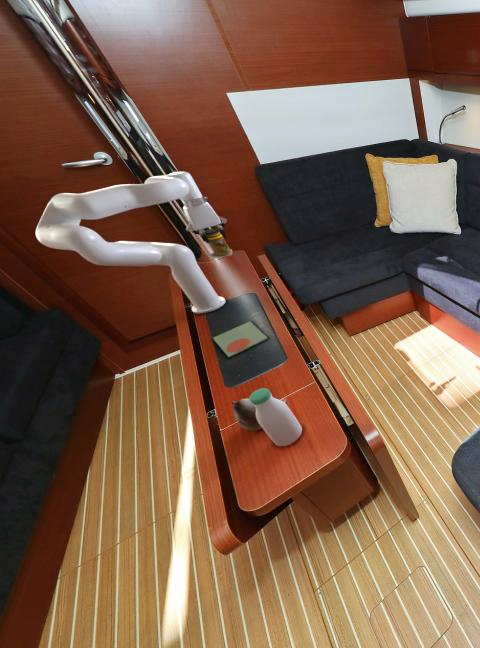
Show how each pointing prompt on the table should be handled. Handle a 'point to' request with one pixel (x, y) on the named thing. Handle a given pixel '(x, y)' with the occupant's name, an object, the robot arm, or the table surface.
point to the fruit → (246, 414)
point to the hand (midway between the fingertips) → (215, 239)
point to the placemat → (240, 339)
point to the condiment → (217, 244)
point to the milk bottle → (275, 418)
